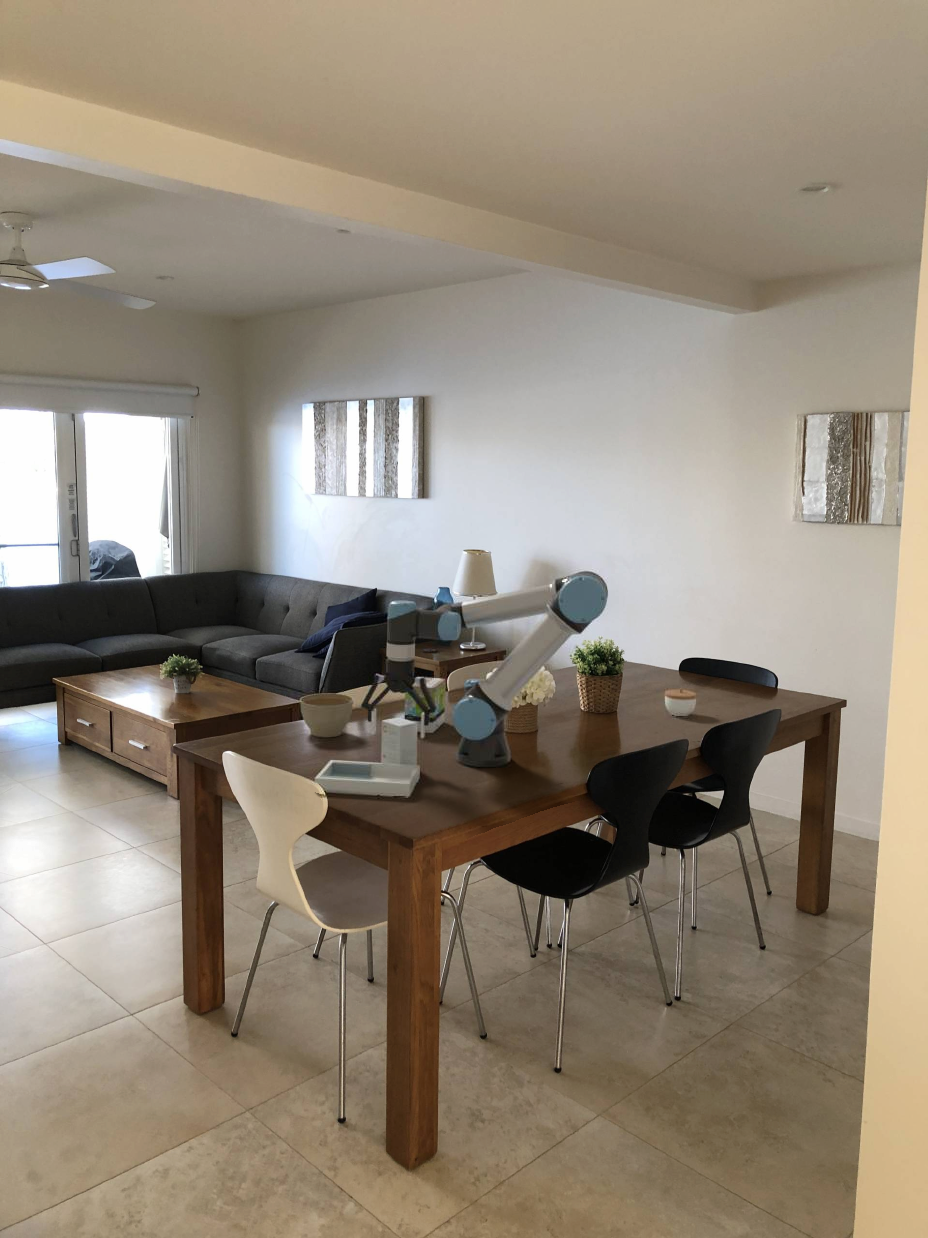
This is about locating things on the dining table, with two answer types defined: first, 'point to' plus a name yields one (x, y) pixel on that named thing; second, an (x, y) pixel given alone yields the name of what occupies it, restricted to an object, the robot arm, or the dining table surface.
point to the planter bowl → (326, 713)
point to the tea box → (438, 696)
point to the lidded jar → (680, 702)
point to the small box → (399, 741)
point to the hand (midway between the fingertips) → (397, 735)
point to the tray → (368, 778)
